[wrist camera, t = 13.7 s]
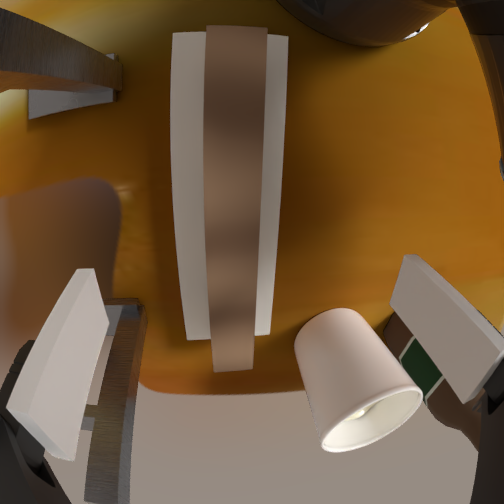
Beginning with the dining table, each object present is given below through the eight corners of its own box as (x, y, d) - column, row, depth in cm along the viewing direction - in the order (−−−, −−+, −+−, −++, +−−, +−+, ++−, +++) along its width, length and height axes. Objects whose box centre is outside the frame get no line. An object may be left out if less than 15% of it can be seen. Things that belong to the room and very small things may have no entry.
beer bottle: (377, 352, 34) (464, 504, 13) (385, 308, 30) (504, 481, 9) (423, 333, 34) (515, 463, 13) (435, 289, 31) (554, 429, 10)
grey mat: (173, 34, 15) (172, 32, 15) (286, 37, 17) (288, 36, 16) (187, 336, 27) (187, 340, 27) (268, 331, 28) (269, 334, 28)
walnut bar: (205, 45, 16) (206, 25, 11) (252, 46, 16) (267, 27, 12) (210, 332, 27) (213, 372, 22) (244, 329, 27) (252, 369, 23)
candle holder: (383, 306, 30) (442, 383, 19) (343, 367, 34) (381, 444, 23) (309, 294, 27) (363, 394, 17) (273, 364, 31) (301, 458, 20)
